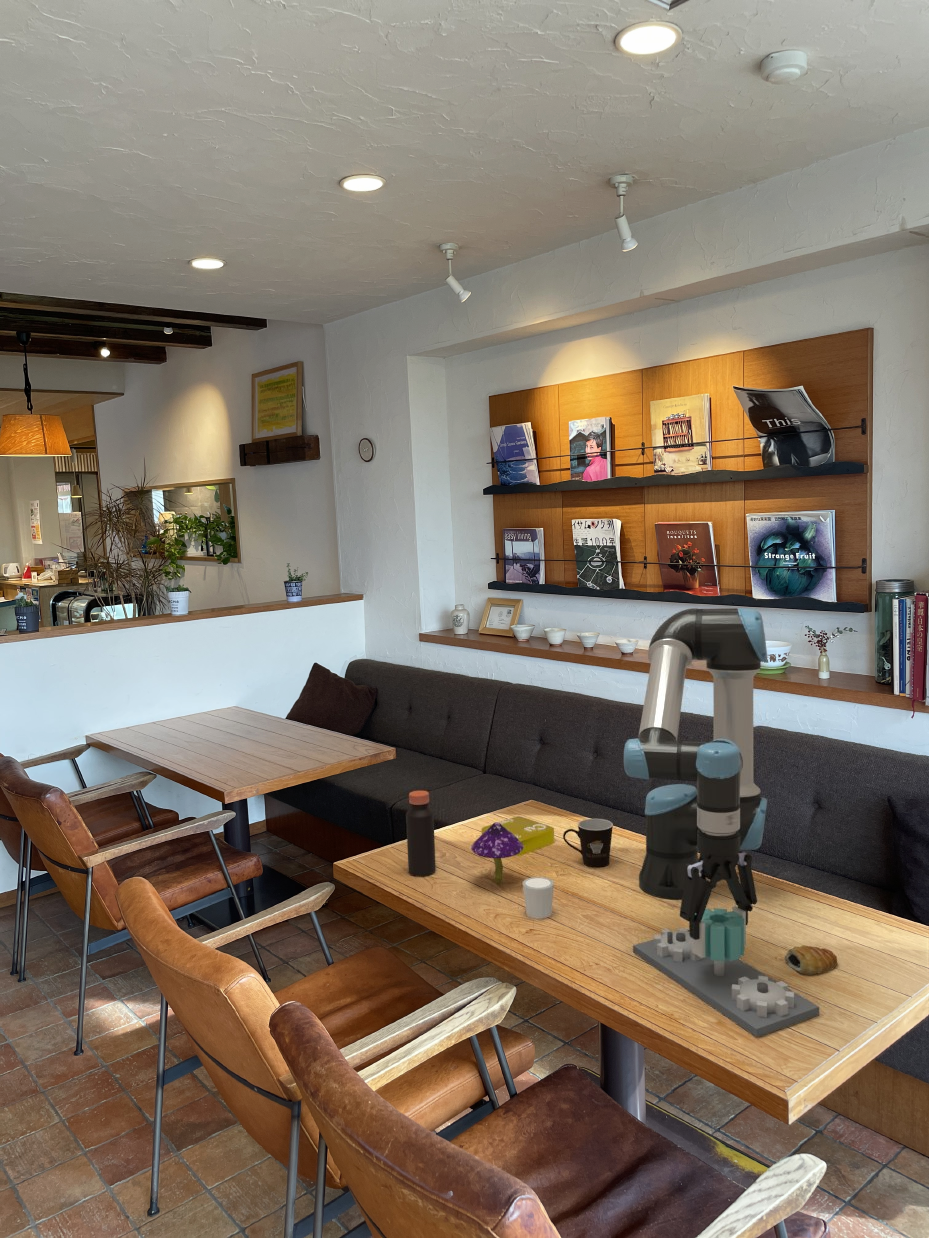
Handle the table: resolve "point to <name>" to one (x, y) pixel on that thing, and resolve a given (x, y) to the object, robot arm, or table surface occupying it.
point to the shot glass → (538, 897)
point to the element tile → (528, 833)
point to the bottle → (420, 835)
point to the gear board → (727, 985)
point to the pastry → (810, 959)
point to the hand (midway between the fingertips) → (719, 948)
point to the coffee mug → (594, 841)
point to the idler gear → (723, 934)
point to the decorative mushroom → (497, 846)
